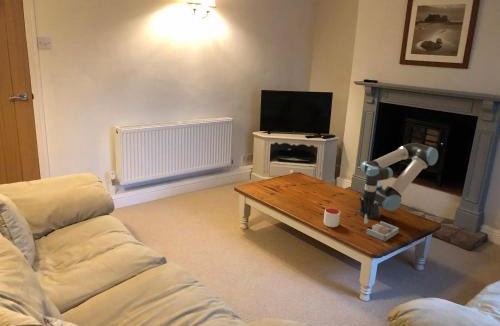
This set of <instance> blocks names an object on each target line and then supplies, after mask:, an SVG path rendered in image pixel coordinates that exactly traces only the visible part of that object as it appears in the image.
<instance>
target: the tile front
mask: <svg viewBox="0 0 500 326" xmlns="http://www.w3.org/2000/svg"><path fill="white" fill-rule="evenodd" d="M389 232H390V230H389V228H386V227H384V226H382V227H380V228H379V231H378V233H381V234H383V235H386V234H387V233H389Z"/></svg>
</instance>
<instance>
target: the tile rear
mask: <svg viewBox="0 0 500 326" xmlns="http://www.w3.org/2000/svg"><path fill="white" fill-rule="evenodd" d="M371 227H372V228H371V230H373V231H376V232H378V231H379V228H380V227H382V226H381V225H380V224H378V223H375V224H372V226H371Z"/></svg>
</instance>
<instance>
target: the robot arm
mask: <svg viewBox="0 0 500 326" xmlns="http://www.w3.org/2000/svg"><path fill="white" fill-rule="evenodd" d="M407 159H411V162H410V163H409V164H408V165H407V166H406V168H405V169H404V170H403V171H401V173H400V175H399V176H398V177H397V178H396V180H394V181H393V183H392V184H391V185H388V186H386V187H385V188H383V184H381V183H378V181H379V182H380V181H386V180H390V179H392V178H393V175H394V172H393V169H392V168H390V167H389V166H390V165H393V164H395V163H398V162H400V161H402V160H407ZM438 159H439V151H438V150H437V149H436V148H435V147H432V146H429V145H425V144H421V143H419V142H411V143H407V144H404V145H401V146H399V147H398V148H397V149H396V150H394V151H392V152H389V153H387V154H385V155H383V156H380V157H379V158H378V157H377V159H374V160H371V161H368V160H364V161H362V162H361V165H360V170H361V172H363V173H365V184H364V189H363V190H364V191H363V196H361V197H359V201H360V207H359V210H358V214H359V216H361V217H363V224H365V225H366V224H368V223H369V220H370V219H371V220H372V219H373V220H375V219H380V218H381V215H382V213H381V212H382V211H381V208H383V209H384V210H388V211H392V212H393V211H395V210H397V209H398V208H399V207H400V205H401V204H402V198H403V195H402V194H403V193H404V191H405V190H406V189H407V188H408V187H409V186H410V185H411V183H412V182H413V181H414V180H415V179H416V177H417V176H418V175H419V174H420V173H421V171H422V170H423V169H427V168H428V166H434V165H435V164H436V163H437V161H438Z"/></svg>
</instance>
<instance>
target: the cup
mask: <svg viewBox="0 0 500 326" xmlns="http://www.w3.org/2000/svg"><path fill="white" fill-rule="evenodd" d="M340 217H341V211H340V210H339V209H338V208H335V207H328V208H325V210H324V216H323V224H324V225H325V226H326V227H329V228H337V227H338V226H339V224H340Z"/></svg>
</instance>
